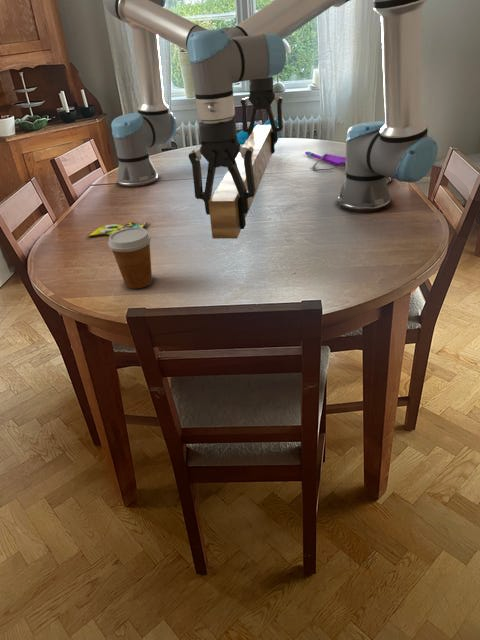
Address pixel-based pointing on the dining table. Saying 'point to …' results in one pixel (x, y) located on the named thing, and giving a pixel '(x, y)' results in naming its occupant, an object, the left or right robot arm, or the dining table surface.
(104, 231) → the toy
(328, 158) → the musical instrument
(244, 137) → the toy
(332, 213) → the dining table surface
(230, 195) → the post
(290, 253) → the dining table surface
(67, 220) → the dining table surface
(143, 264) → the disposable coffee cup
